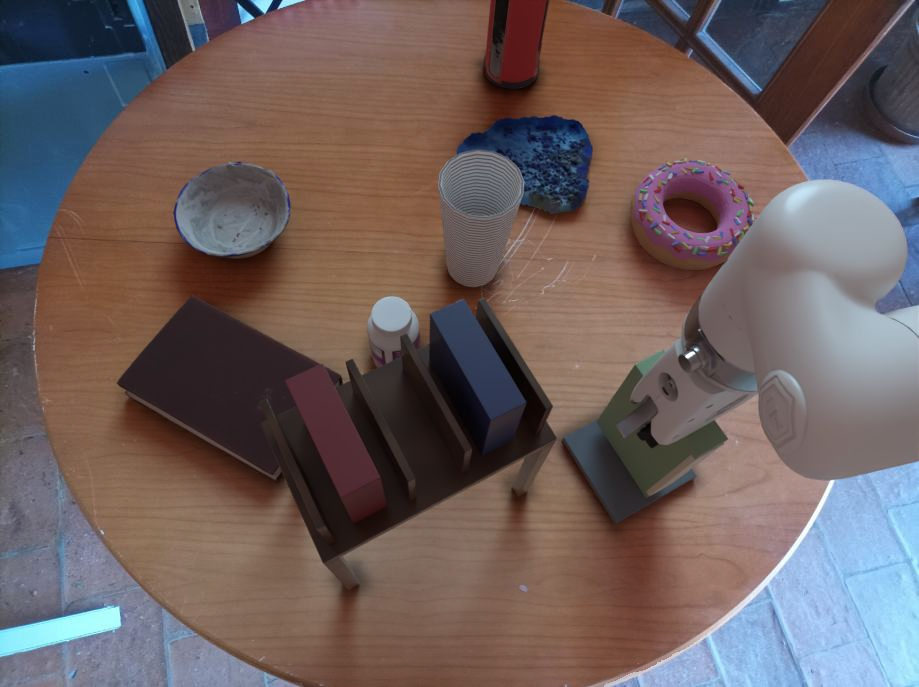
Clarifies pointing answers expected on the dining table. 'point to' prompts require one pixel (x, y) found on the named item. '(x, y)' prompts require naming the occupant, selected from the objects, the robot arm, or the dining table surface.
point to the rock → (542, 158)
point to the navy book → (474, 377)
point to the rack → (405, 445)
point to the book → (218, 381)
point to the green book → (661, 461)
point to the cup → (478, 213)
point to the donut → (703, 188)
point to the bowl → (232, 210)
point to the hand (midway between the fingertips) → (661, 422)
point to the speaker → (514, 41)
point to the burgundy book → (338, 442)
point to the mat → (611, 473)
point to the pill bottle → (391, 329)
